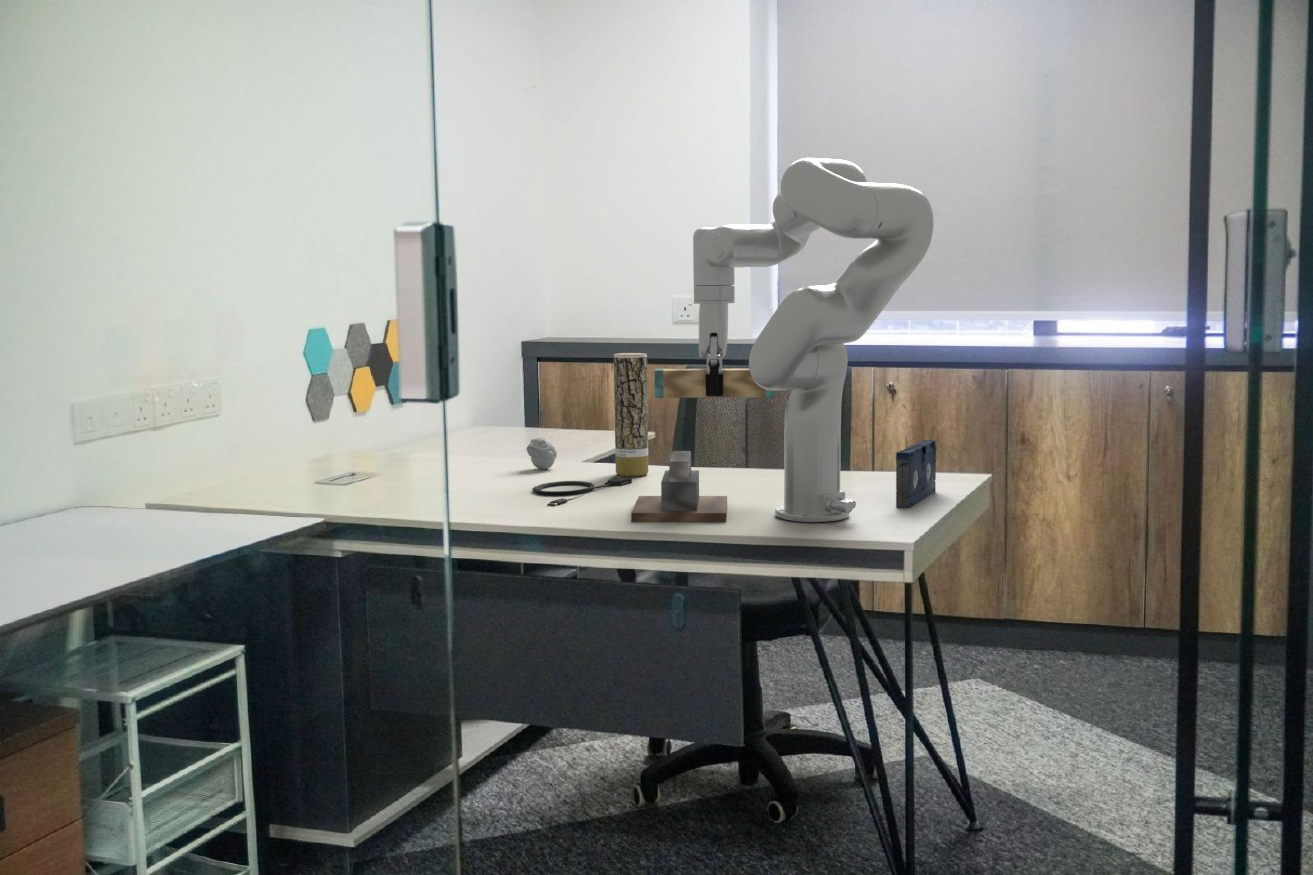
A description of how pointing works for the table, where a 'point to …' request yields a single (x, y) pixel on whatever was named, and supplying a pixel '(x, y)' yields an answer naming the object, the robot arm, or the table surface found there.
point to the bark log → (631, 414)
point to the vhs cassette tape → (915, 473)
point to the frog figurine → (542, 453)
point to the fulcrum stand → (680, 497)
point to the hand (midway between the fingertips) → (714, 393)
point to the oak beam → (694, 384)
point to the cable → (611, 482)
